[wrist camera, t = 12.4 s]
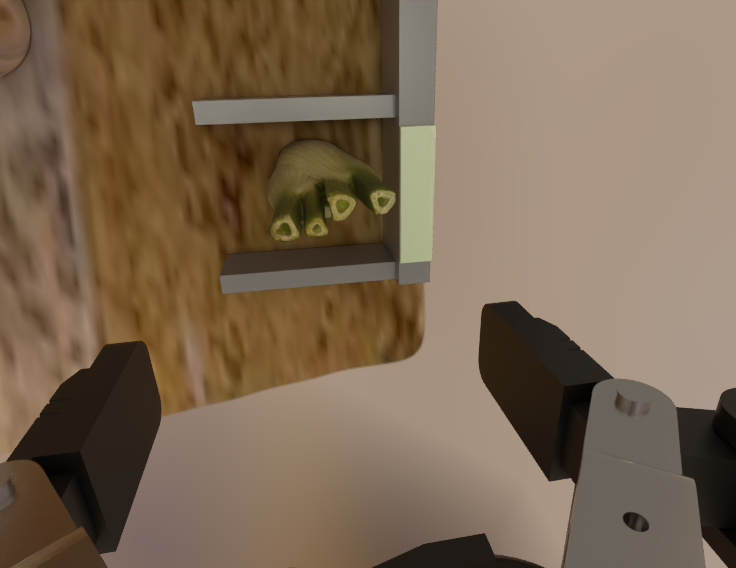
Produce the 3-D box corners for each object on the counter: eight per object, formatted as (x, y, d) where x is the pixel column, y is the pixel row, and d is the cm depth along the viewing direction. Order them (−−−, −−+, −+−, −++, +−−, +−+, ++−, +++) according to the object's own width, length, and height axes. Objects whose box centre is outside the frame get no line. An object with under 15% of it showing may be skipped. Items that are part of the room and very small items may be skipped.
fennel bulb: (363, 145, 32) (406, 180, 21) (348, 217, 33) (381, 283, 23) (275, 127, 30) (271, 153, 19) (264, 202, 32) (255, 265, 21)
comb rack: (172, -107, 25) (146, -152, 20) (414, -100, 27) (444, -140, 22) (228, 270, 33) (219, 303, 29) (410, 256, 35) (431, 284, 30)
